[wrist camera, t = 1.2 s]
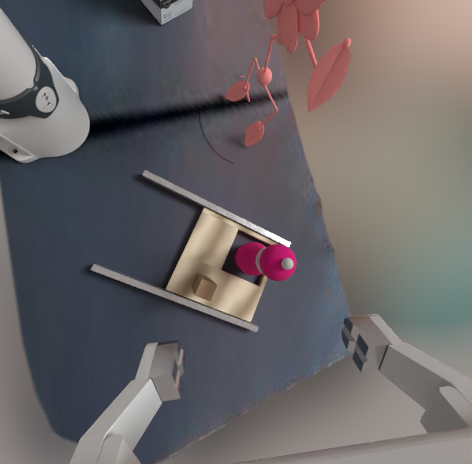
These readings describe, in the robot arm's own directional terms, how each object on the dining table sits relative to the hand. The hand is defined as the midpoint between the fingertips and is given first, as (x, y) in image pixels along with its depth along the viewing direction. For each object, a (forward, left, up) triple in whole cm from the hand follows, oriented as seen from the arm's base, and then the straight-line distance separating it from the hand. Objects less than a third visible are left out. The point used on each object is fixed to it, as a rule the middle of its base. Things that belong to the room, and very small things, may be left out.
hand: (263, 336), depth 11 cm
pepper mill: (+10, +6, -38) cm, 40 cm away
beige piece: (+6, +2, -38) cm, 39 cm away
